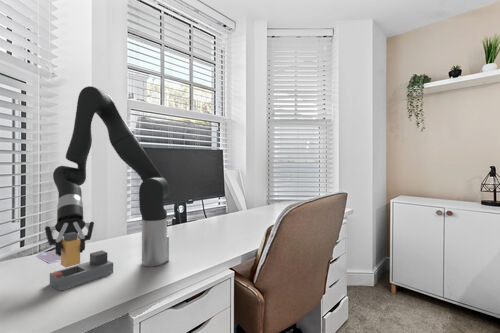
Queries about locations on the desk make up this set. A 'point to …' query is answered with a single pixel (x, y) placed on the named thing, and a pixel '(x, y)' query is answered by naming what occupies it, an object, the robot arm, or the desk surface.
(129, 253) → the desk surface
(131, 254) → the desk surface
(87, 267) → the power strip
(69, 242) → the adapter plug
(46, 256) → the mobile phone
